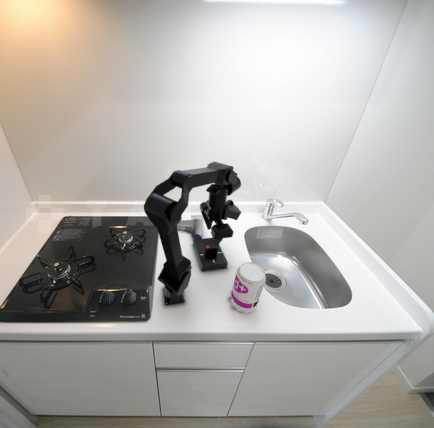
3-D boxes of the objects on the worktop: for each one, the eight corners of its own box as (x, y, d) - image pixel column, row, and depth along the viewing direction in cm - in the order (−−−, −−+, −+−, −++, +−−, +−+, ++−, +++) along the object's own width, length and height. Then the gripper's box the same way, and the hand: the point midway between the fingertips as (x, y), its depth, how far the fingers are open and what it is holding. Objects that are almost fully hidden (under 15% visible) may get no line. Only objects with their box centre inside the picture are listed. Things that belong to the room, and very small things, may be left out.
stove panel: (226, 268, 80) (228, 262, 78) (201, 271, 79) (202, 265, 77) (214, 242, 92) (215, 236, 90) (192, 244, 91) (193, 239, 89)
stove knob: (215, 251, 83) (216, 244, 81) (217, 254, 82) (218, 247, 79) (204, 253, 82) (205, 245, 80) (205, 256, 81) (206, 248, 79)
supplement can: (238, 317, 64) (247, 286, 55) (225, 294, 70) (232, 263, 62) (261, 310, 66) (273, 279, 57) (246, 288, 72) (255, 258, 64)
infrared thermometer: (172, 225, 104) (202, 225, 102) (169, 241, 94) (203, 242, 92) (171, 218, 101) (203, 218, 100) (168, 233, 91) (203, 234, 90)
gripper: (253, 214, 62) (243, 252, 71) (229, 186, 77) (224, 220, 86) (217, 217, 61) (212, 256, 69) (200, 188, 76) (198, 223, 85)
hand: (212, 236), depth 77 cm, fingers open, 9 cm apart
